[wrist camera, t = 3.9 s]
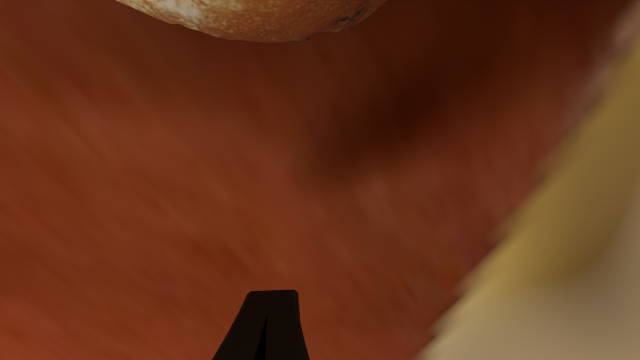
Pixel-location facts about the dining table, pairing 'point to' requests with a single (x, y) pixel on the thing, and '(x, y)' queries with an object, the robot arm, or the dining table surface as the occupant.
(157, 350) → the dining table surface
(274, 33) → the bread roll
